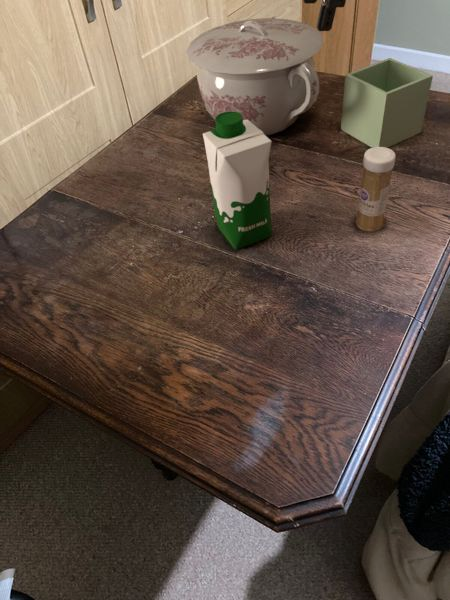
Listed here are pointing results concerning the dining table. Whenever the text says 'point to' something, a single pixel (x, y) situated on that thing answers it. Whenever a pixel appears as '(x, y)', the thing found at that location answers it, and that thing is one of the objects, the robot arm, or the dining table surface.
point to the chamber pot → (258, 70)
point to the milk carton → (239, 179)
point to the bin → (385, 102)
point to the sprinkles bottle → (374, 188)
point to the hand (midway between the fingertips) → (316, 15)
